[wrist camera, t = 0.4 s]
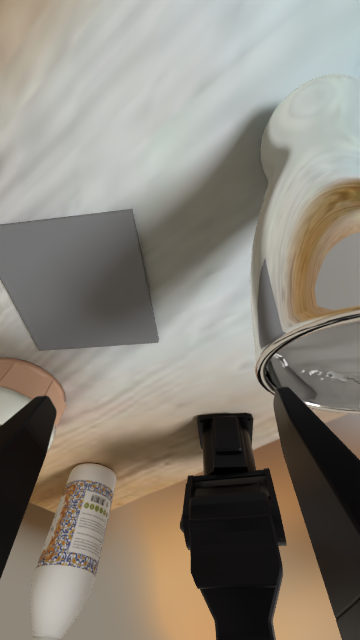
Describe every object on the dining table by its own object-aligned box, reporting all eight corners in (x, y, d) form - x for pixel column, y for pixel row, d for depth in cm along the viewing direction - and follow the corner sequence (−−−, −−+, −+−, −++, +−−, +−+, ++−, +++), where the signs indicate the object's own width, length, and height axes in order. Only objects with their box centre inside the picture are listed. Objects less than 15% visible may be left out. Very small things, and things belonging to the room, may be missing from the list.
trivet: (158, 339, 26) (158, 342, 26) (41, 347, 27) (39, 350, 27) (132, 209, 20) (130, 210, 19) (-22, 227, 21) (-26, 228, 20)
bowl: (77, 415, 34) (64, 446, 30) (1, 419, 35) (-19, 449, 31) (45, 354, 28) (25, 384, 25) (-44, 360, 29) (-74, 389, 26)
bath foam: (76, 456, 39) (-8, 692, 23) (122, 468, 40) (75, 698, 24) (67, 477, 43) (-11, 694, 26) (110, 488, 44) (61, 699, 28)
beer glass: (233, 174, 18) (213, 385, 10) (299, 34, 13) (380, 250, 4) (323, 210, 19) (372, 428, 11) (421, 95, 14) (677, 365, 5)
